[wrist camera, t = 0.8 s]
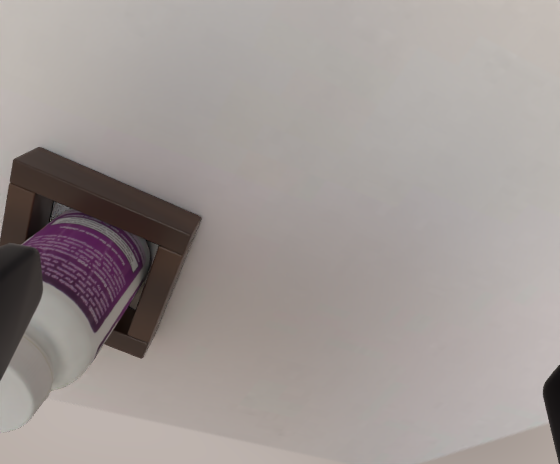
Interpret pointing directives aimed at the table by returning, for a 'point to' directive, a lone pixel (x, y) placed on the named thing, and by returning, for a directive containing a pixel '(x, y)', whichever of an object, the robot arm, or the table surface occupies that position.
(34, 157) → the holder
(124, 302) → the pill bottle
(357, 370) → the table surface
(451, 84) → the table surface
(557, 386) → the robot arm
